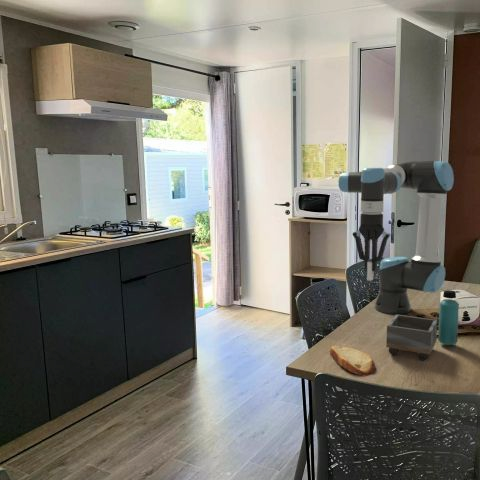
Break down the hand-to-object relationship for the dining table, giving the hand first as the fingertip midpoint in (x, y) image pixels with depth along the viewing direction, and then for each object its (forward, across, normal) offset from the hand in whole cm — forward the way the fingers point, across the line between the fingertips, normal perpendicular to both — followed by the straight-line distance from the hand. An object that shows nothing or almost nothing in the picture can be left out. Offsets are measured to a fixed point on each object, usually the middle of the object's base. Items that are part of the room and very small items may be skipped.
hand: (370, 279), depth 176 cm
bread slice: (+25, -1, -18) cm, 31 cm away
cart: (+24, +15, 0) cm, 28 cm away
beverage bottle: (+24, +25, +12) cm, 37 cm away
